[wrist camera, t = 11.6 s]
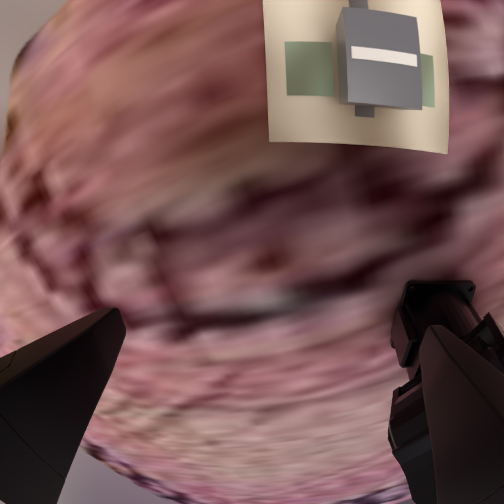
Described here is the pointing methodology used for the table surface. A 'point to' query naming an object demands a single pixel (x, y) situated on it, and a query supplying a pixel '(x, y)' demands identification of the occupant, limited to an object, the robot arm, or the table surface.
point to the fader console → (327, 81)
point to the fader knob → (378, 59)
